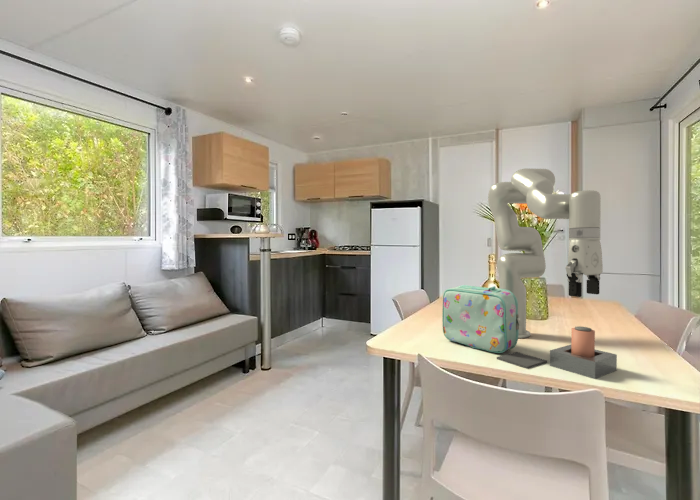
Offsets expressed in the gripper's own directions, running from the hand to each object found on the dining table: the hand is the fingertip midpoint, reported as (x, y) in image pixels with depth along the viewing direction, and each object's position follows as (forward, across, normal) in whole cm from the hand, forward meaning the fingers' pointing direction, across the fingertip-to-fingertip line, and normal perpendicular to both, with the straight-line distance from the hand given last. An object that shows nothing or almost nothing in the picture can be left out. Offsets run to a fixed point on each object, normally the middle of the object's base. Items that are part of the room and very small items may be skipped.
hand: (584, 295), depth 103 cm
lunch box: (+21, -7, +30) cm, 38 cm away
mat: (+21, -9, +14) cm, 26 cm away
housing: (+21, 0, 0) cm, 21 cm away
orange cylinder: (+21, 0, 0) cm, 21 cm away
